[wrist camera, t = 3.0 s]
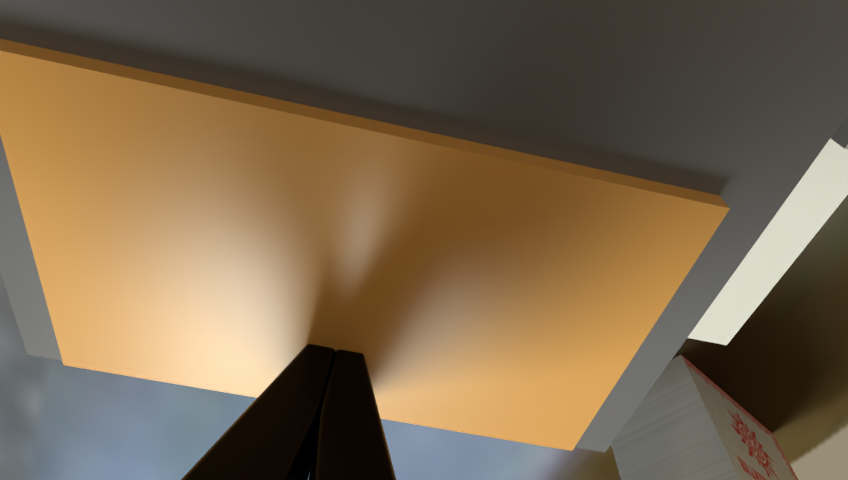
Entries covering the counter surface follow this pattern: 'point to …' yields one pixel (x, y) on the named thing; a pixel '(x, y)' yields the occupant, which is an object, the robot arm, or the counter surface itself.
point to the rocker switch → (402, 189)
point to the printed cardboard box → (695, 434)
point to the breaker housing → (780, 242)
